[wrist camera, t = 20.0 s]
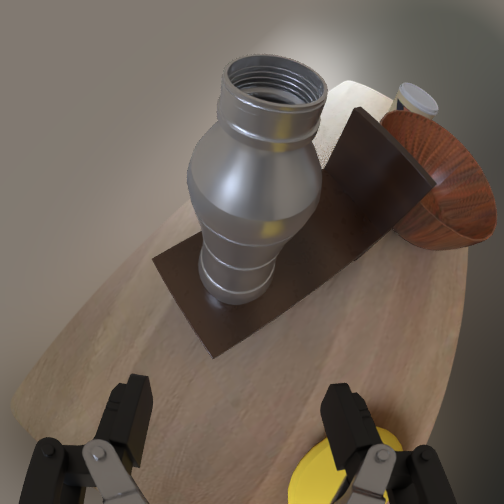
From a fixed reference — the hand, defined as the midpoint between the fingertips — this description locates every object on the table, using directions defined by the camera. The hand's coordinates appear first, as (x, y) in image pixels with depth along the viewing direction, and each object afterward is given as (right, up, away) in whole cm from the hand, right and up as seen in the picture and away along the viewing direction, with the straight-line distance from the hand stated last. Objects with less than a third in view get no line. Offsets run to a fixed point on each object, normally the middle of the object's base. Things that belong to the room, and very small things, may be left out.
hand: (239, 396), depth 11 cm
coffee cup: (+33, +32, +41) cm, 61 cm away
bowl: (+29, +15, +33) cm, 46 cm away
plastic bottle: (-1, +4, +15) cm, 16 cm away
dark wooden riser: (+3, +4, +24) cm, 25 cm away
